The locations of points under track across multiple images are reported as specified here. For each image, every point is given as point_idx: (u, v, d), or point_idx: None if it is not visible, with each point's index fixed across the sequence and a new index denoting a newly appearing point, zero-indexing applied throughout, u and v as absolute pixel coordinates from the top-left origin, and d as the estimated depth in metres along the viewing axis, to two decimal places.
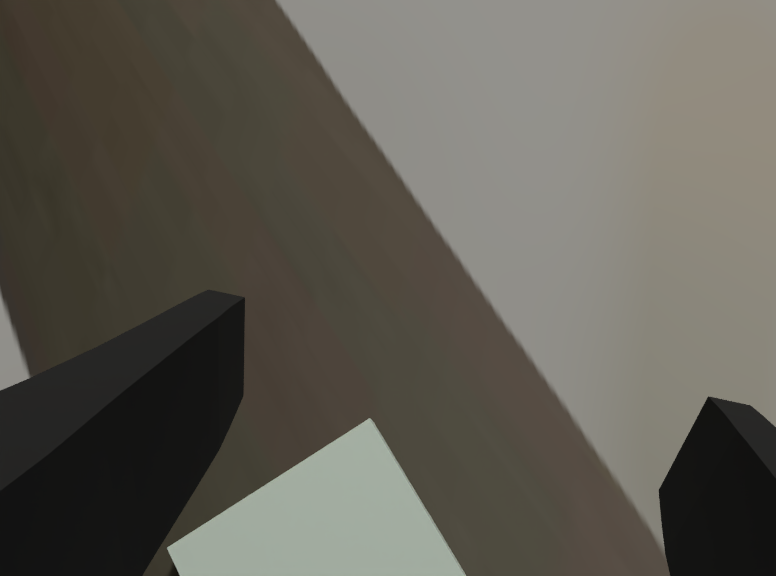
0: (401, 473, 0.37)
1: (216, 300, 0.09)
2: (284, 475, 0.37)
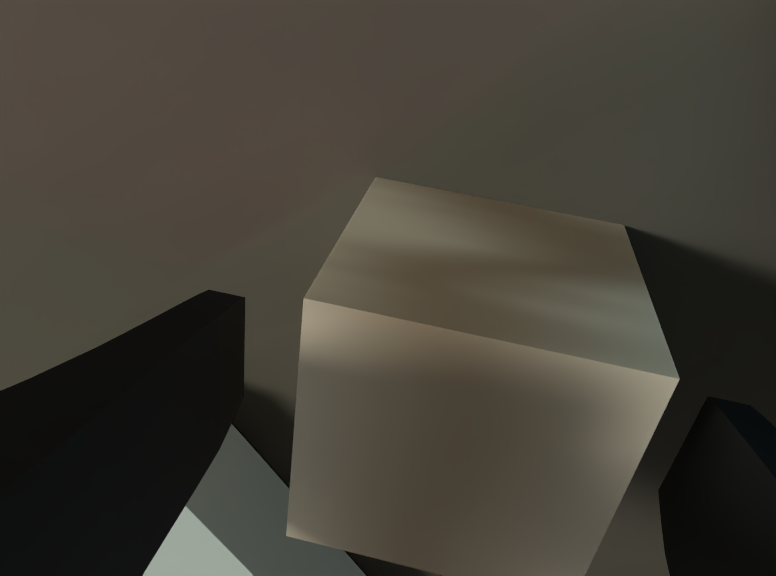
0: None
1: (217, 300, 0.09)
2: None
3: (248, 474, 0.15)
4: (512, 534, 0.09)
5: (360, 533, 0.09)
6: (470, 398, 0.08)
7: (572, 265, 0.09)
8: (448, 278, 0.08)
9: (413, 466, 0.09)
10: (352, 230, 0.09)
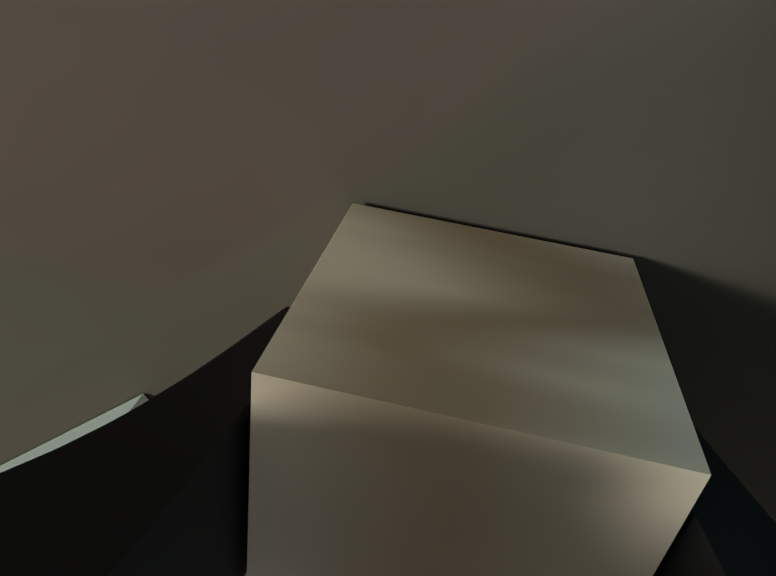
0: None
1: None
2: None
3: None
4: None
5: None
6: (454, 488, 0.06)
7: (576, 316, 0.08)
8: (429, 338, 0.07)
9: (388, 559, 0.07)
10: (319, 274, 0.08)
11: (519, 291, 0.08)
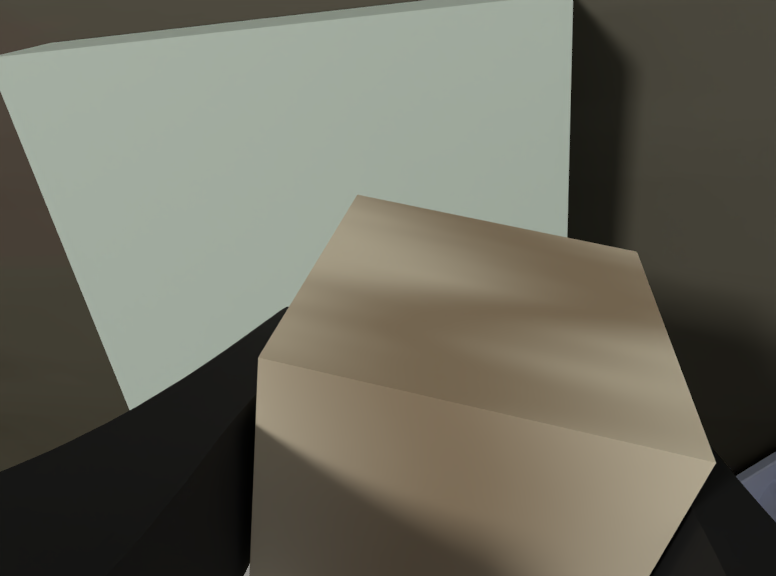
0: (121, 47, 0.15)
1: None
2: (78, 274, 0.18)
3: None
4: None
5: None
6: (460, 474, 0.06)
7: (581, 307, 0.08)
8: (434, 327, 0.07)
9: (393, 547, 0.07)
10: (325, 263, 0.08)
11: (524, 282, 0.08)
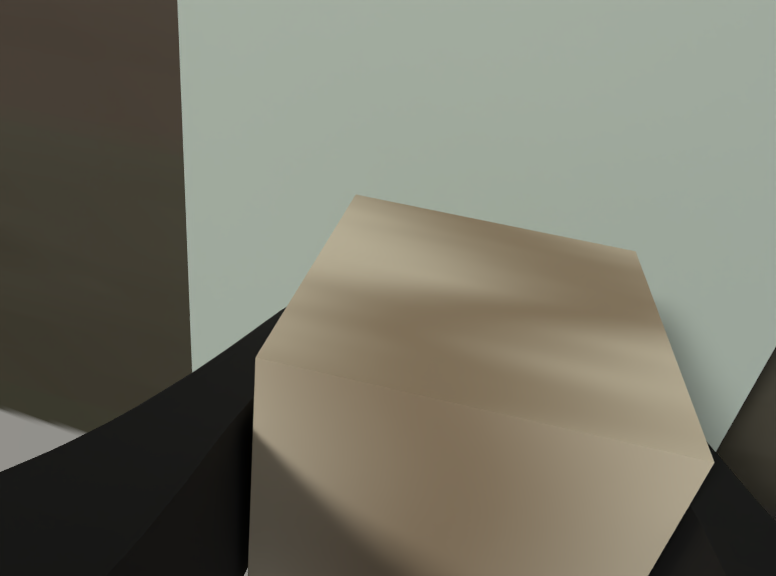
0: None
1: None
2: (189, 159, 0.14)
3: None
4: None
5: None
6: (458, 475, 0.06)
7: (579, 306, 0.08)
8: (432, 326, 0.07)
9: (391, 547, 0.07)
10: (322, 264, 0.08)
11: (522, 282, 0.08)
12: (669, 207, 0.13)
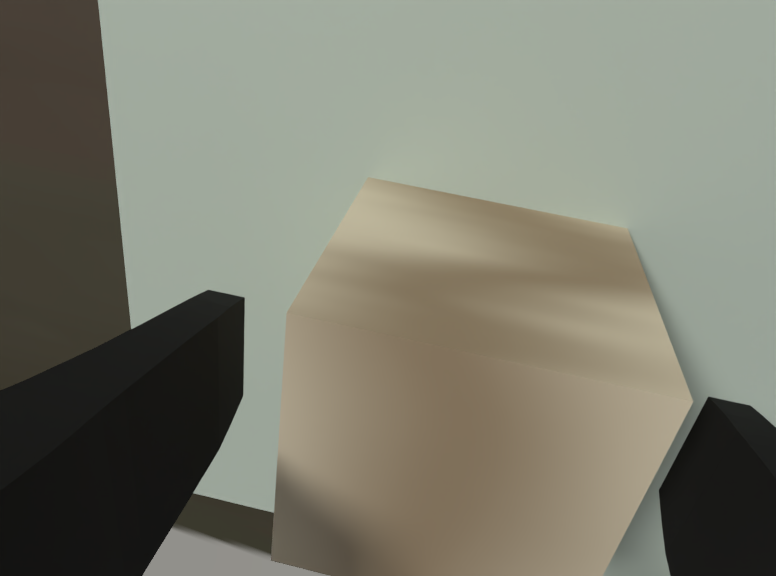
0: None
1: (217, 299, 0.09)
2: (125, 202, 0.12)
3: None
4: (511, 561, 0.08)
5: (349, 558, 0.09)
6: (466, 419, 0.07)
7: (575, 274, 0.09)
8: (442, 289, 0.08)
9: (405, 490, 0.08)
10: (341, 236, 0.09)
11: (523, 253, 0.09)
12: (701, 265, 0.10)
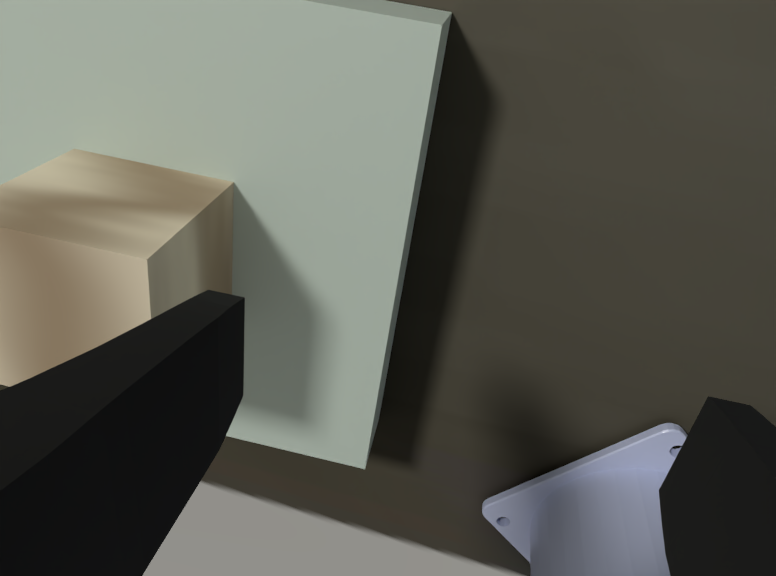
0: None
1: (217, 300, 0.09)
2: None
3: (427, 138, 0.17)
4: None
5: (24, 375, 0.15)
6: (49, 275, 0.13)
7: (155, 204, 0.15)
8: (53, 207, 0.14)
9: (36, 324, 0.14)
10: (16, 180, 0.15)
11: (134, 192, 0.15)
12: (283, 206, 0.16)
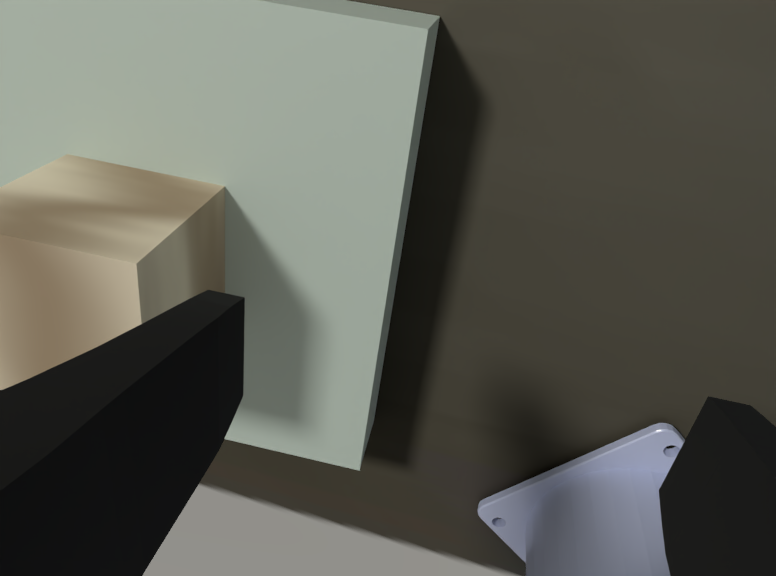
0: None
1: (217, 299, 0.09)
2: None
3: (417, 141, 0.17)
4: None
5: (18, 379, 0.15)
6: (40, 280, 0.13)
7: (147, 208, 0.15)
8: (45, 213, 0.14)
9: (28, 328, 0.14)
10: (8, 185, 0.15)
11: (125, 197, 0.15)
12: (274, 210, 0.17)
